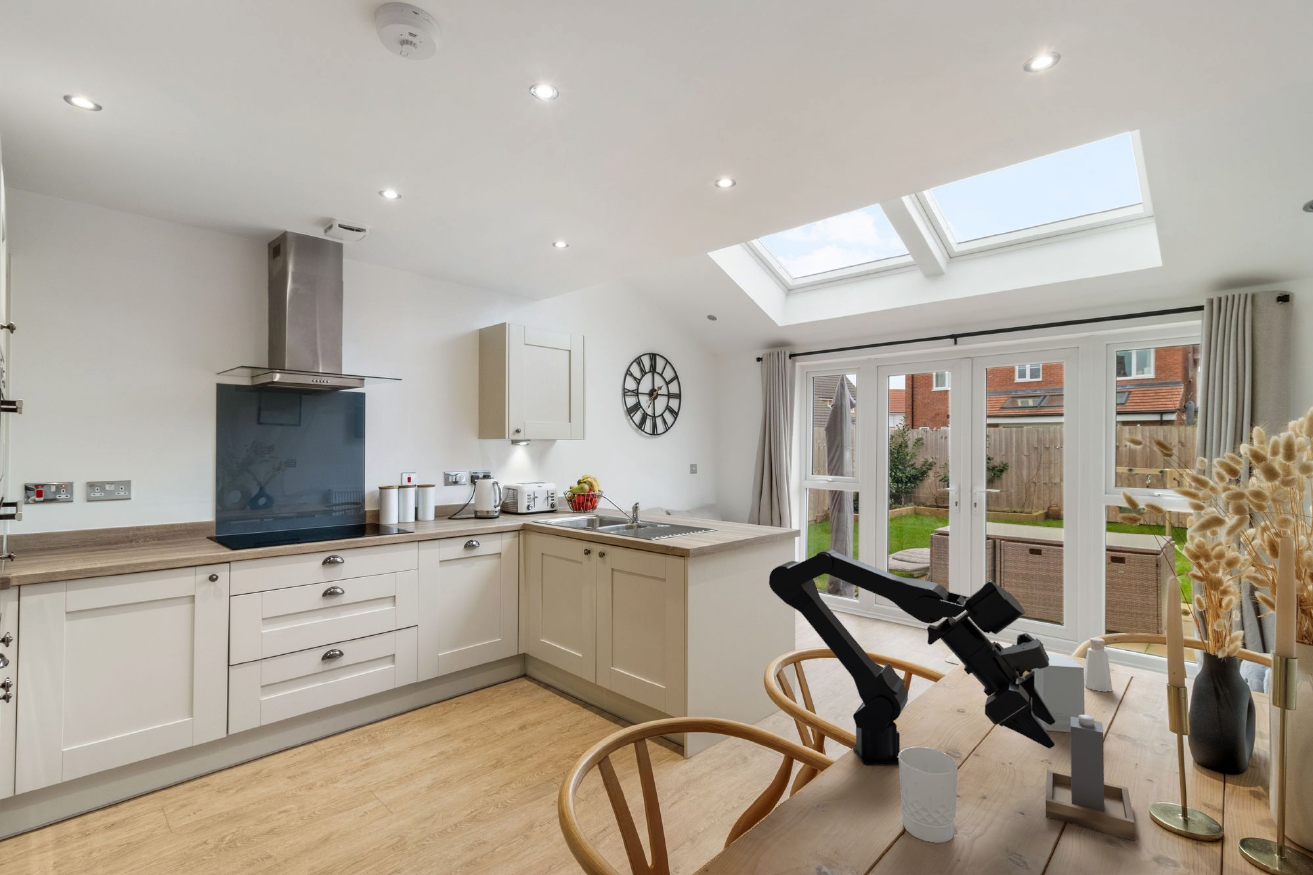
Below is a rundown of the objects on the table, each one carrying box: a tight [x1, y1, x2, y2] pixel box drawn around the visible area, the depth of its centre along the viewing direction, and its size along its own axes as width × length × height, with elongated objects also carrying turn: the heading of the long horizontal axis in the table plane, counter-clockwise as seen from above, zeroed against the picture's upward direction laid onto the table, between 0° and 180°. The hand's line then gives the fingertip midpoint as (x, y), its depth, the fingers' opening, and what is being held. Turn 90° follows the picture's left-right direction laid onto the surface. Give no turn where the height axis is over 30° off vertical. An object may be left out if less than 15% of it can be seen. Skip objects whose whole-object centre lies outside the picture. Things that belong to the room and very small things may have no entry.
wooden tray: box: [1045, 768, 1136, 841], centre depth 96 cm, size 11×11×2 cm
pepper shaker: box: [1084, 637, 1113, 693], centre depth 143 cm, size 5×5×11 cm
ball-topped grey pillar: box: [1070, 714, 1105, 812], centre depth 96 cm, size 4×4×13 cm
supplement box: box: [1031, 654, 1086, 733], centre depth 125 cm, size 7×7×13 cm
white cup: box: [897, 746, 959, 844], centre depth 92 cm, size 8×8×10 cm
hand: (1052, 734), depth 98 cm, fingers open, 9 cm apart
